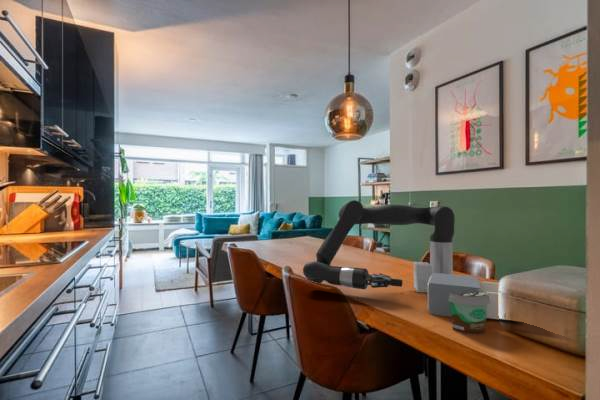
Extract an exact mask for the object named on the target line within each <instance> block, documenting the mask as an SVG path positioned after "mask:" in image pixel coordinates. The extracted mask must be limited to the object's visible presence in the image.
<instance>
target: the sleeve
mask: <svg viewBox="0 0 600 400" xmlns="http://www.w3.org/2000/svg"><path fill="white" fill-rule="evenodd" d="M479 281H480V280H479V277H478V276H477V275H476V276H473V275H464V274H461V275H460V274H454V273H453V274H441V273H432V276H431V278H430V281H429V310H428V312H429V315H436V316H444V317H449V318H450V317H451V318H452V316H451V305H450V301H448V300H449V296H450V293H451V294H455V295H460V294H463V293H475V292H478V289H481V288H480V284H479Z"/></svg>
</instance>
